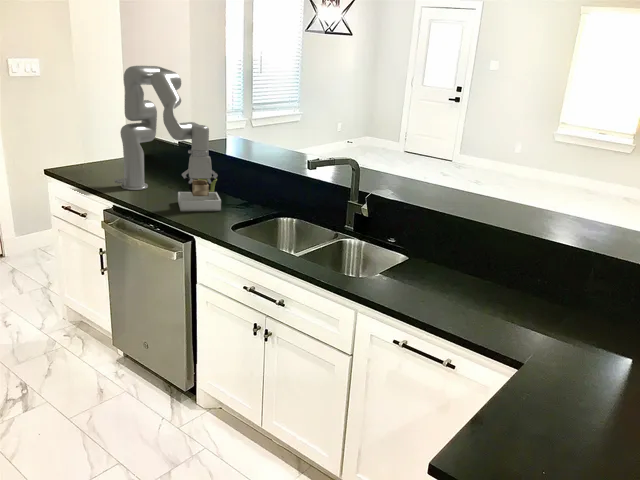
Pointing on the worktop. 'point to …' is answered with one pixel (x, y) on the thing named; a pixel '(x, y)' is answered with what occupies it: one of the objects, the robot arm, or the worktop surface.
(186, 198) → the box
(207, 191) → the small crate
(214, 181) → the plant pot
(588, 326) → the worktop surface
